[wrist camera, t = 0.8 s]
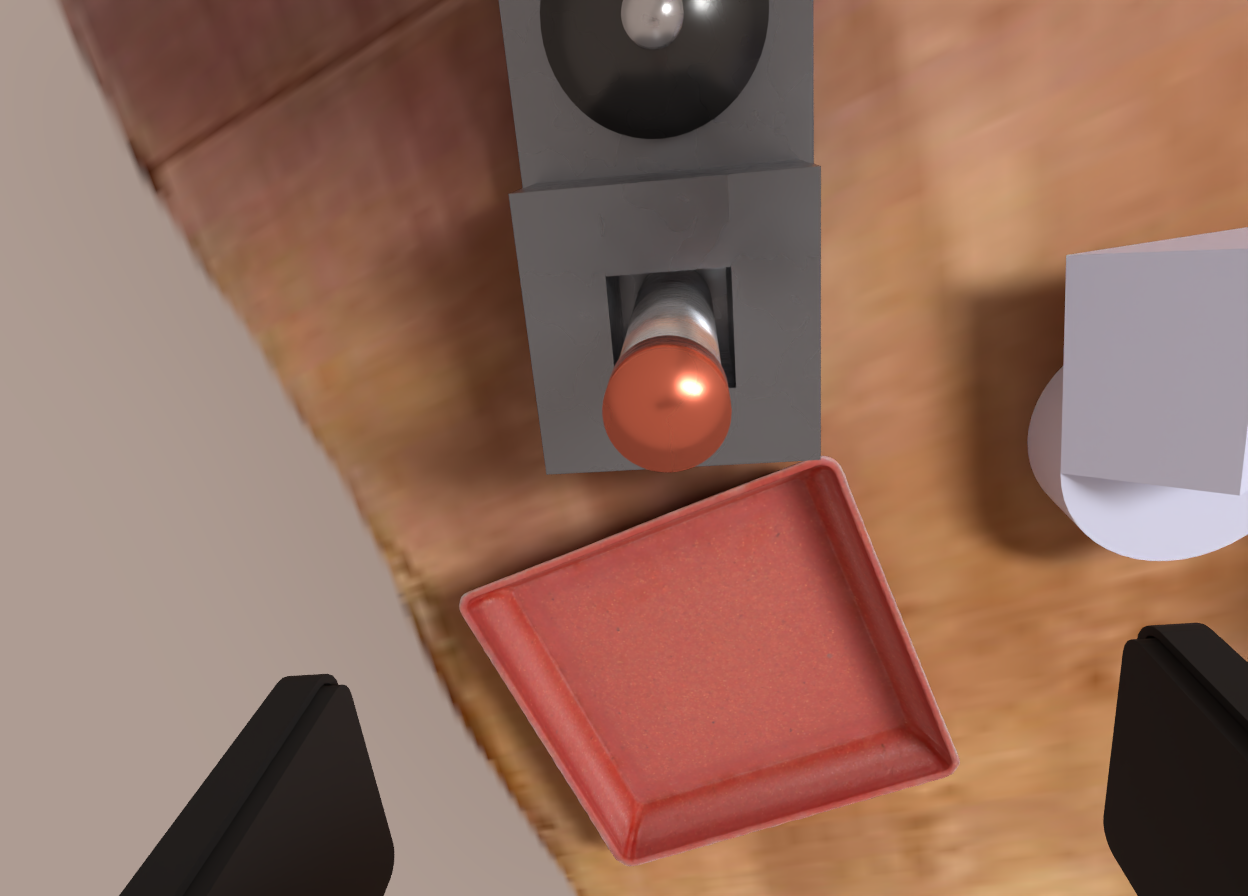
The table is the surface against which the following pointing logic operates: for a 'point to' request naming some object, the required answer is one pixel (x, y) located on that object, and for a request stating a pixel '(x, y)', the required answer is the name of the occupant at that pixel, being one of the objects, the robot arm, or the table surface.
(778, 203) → the block
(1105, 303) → the wedge on round base
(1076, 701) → the table surface
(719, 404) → the pin
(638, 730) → the plant saucer
